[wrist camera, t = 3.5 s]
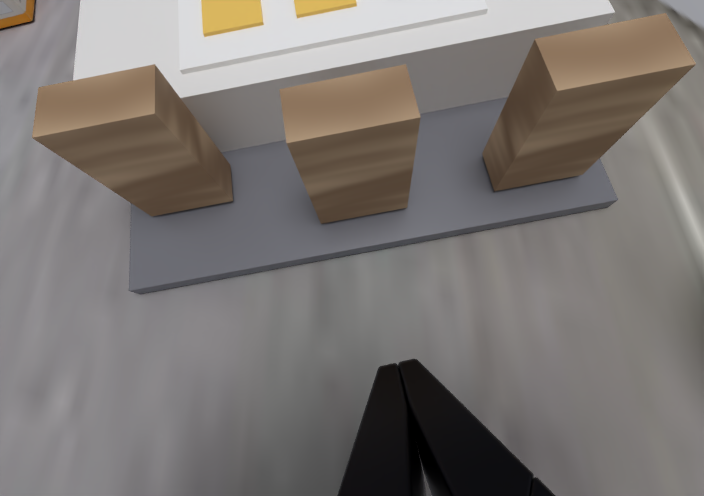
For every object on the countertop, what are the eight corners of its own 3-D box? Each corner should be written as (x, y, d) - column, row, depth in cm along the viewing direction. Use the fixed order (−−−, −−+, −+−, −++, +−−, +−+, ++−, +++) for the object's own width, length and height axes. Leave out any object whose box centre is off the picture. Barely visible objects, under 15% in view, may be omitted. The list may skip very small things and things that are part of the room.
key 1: (582, 174, 21) (696, 64, 13) (494, 191, 21) (557, 90, 13) (567, 137, 22) (665, 13, 14) (482, 153, 22) (534, 38, 14)
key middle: (407, 207, 21) (420, 117, 14) (321, 223, 21) (286, 143, 14) (398, 169, 22) (405, 64, 14) (315, 185, 22) (279, 89, 14)
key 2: (233, 201, 22) (154, 113, 15) (151, 216, 22) (31, 137, 15) (230, 164, 23) (154, 64, 15) (151, 180, 23) (38, 87, 15)
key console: (607, 207, 22) (697, 142, 15) (139, 294, 22) (46, 265, 16) (513, -13, 27) (551, -125, 21) (143, 61, 28) (75, -26, 22)
